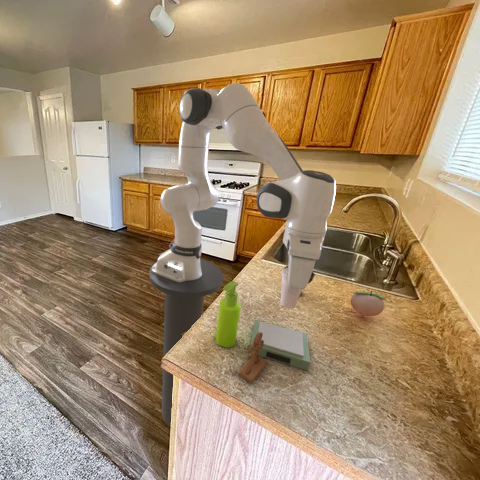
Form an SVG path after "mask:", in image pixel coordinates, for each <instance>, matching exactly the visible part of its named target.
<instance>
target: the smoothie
mask: <svg viewBox="0 0 480 480" xmlns="http://www.w3.org/2000/svg"><path fill="white" fill-rule="evenodd" d="M284 268H285V267H284ZM284 268H283V269H282V270H281V273H280V275H281V289H280V305H281V306H282V307H283V308H286V309H295V308H296V306H297V303H298V301H299V298H300V297H301V296H300V294H301V292H302V291H303V289H298V290H297V293H296V295H291V294H289V285H288V268H285V269H284Z"/></svg>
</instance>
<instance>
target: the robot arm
mask: <svg viewBox="0 0 480 480" xmlns="http://www.w3.org/2000/svg"><path fill="white" fill-rule="evenodd" d="M178 112H179V116H180V119H181V121H182V122H181V127H180V133H179V139H178V153H177V154H178V155H177V158H178V159H177V167H178V169H179V171H180V172H181V173H183V174H184V175H186V178H187V184H178V185H177V184H176V185H174V186H173V185H172V186H169V187H167V188H164V190H163V191H162V193H161V194H160V206H161V208H162V210H163V211H164V212H165V213H167V214H168V216H170V218H171V219H172V221H173V225H174V239H173V240H172V241H171V242H170V243H169V245H168V248H169V249H166V250H165V251H163V252H161V253H158V254H157V260H156V262H155V263H154V264H153V265H151V267H152V270H151V272H152V273H154V274H157V275H160V276H162V277H165V278H168V279H170V280H173V281H176V282H184V281H190V280H195V279H198V278H200V277H201V276H202V271H201V265H200V259H201V258H202V257H201V256H202V250H203V249H202V248H203V247H202V232H203V227H202V225H201V224H200V223H199V222H198V221H197V220H195V219H194V212H199V211H206V210H208V209H210V208H212V207H214V206H216V205H217V204H218V202H219V198H220V196H219V190H218V188H217V187H216V185H214V184H213V182H212V180H211V178H210V175H209V168H208V167H209V165H208V164H209V150H210V149H209V146H210V135H211V132H212V131H213V129H215V128H216V129H217V130H218V131H219V130H223V131H224V134H225V136H226V139H227V140H228V142H229V143H230V145H232V147H233V148H235V150H238V151H240V152H243V153H247V154H250V155H253V156H256V157H258V158H259V159H260V158H261V159H262V160H263V161H266V162H267V164H269V166H270V167H271V169H272V170H273V172H274V173H275V175H276V177H277V179H278V180H276V181H269V182H267V183H264V184H263V185H261V187H260V188H259V190H258V192H257V193H256V199H255V202H256V203H255V204H256V207H257V209H258V211H259V213H260V214H261V215H262V216H263V217H266V218H271V219H283V220H285V222H286V223H285V228H284V233H283V236H282V237H283V238H282V244H283V245H284V246H285V248H286V252H287V255H288V256H287V261H288V262H287V263H288V264H287V266H288V285H289V294H291V295H296V293H297V290H298V289H302V290H305V289H306V288H307V287H308V282H309V279H310V277H311V274H312V272H314V268H315V264H316V260H320V258H321V255H322V249H323V245H324V241H325V237H326V234H327V230H328V229H327V228H328V227H327V224H328V223H327V222H328V219H329V217H330V216H331V215H332V211H333V207H334V203H335V199H336V198H335V197H336V191H337V185H336V179H335V178H334V177H333V176H331V174H329V173H326V172H323V171H320V170H319V171H318V170H313V169H306V170H303V169H302V167H301V166H300V163H298V161H297V159H296V158H295V157H294V155H293V153H292V151H291V150H290V149H289V147H288V145H287V144H286V143H285V141H284V140H283V139H282V137H281V136H280V135H279V134H278V133H277V132H276V130H275V129H274V128H273V127H272V125H271V124H270V122H269V121H268V120H267V118H266V116H265V115H264V113H263V111H262V109H261V107H260V105H259V104H258V102H257V101H256V98H255V97H254V96H253V94H252V93H251V91H249V89H248V88H247V87H246V86H245V85H244V84H242V83H239V82H233V83H229V84H228V85H226V86H224V87H223V88H222V89H220V88H200V87H194V88H189V89H186V90H185V91H184V93H183V94H182V95H181V97H180V100H179V103H178Z"/></svg>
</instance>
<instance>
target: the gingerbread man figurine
mask: <svg viewBox="0 0 480 480" xmlns="http://www.w3.org/2000/svg"><path fill="white" fill-rule="evenodd" d="M259 335H260V336H259ZM262 335H263V334H262V333H261V332H258V333H257V335H256V336H255V339H254V345H253V344H251V343H250V346H249V348H248V354H249V355H250V358H249V359H248V360H247V361H246V362H245V364H244V365H243V366H242V367H241V368H240V369H239V370H238V371H237V376H239V377H240V378H242V379H243V380H244V381H246V382H248V383H249V384H253V382H254V381H255V380H256V379H257V378H258V376H259V375H260V373H261V372H262V371H263V370H264V368H265V367H266V365H267V361H266V360H265V359H263V358H262V357H261V356H259V349H262V347H263V345H264V340H262ZM260 342H261V343H260ZM259 344H260V345H259ZM253 349H255V350H256V351H253Z"/></svg>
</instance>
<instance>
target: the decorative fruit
mask: <svg viewBox="0 0 480 480" xmlns="http://www.w3.org/2000/svg"><path fill="white" fill-rule="evenodd" d="M384 301H387V299H386V298H385V297H384V296H383V295H381V294H379V293H374V292H373V290H371V291H370V292H367V291H364V290H357V291H355V292H353V294H352V296H351V298H350V305H351V307H352V308H353V310H354V311H355V312H356V313H357V314H359V315H361V316H363V317H364V316H365V317H367V316H368V317H375V316H379V315H380V314H382V312H383V311H384V309H385V302H384Z"/></svg>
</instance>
